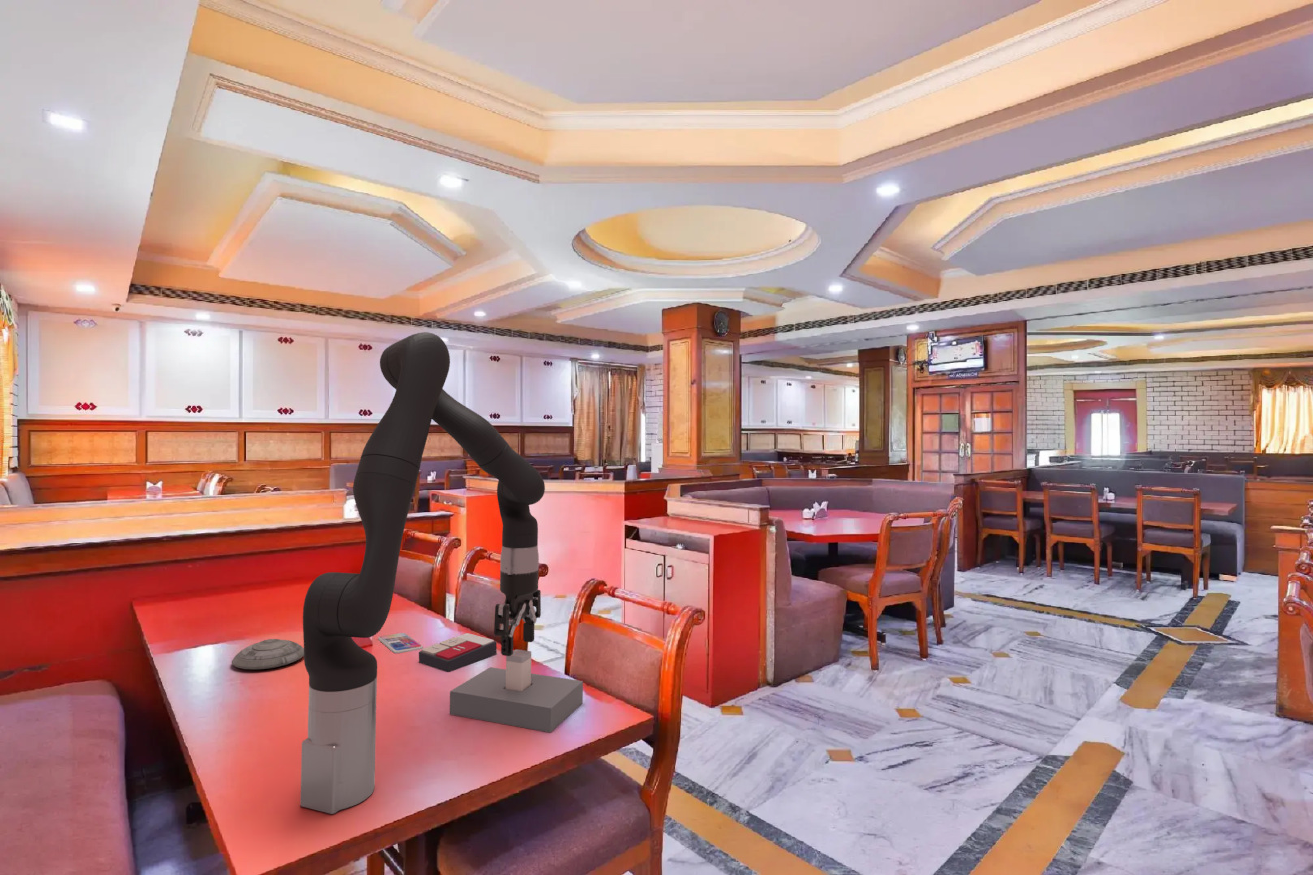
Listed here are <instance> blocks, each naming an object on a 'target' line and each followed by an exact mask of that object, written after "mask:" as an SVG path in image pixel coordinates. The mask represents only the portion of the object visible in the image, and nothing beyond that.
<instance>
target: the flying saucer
mask: <svg viewBox="0 0 1313 875" xmlns="http://www.w3.org/2000/svg"><path fill="white" fill-rule="evenodd" d="M301 658H304V646H302V645H301V644H300V643H298V642H295V641H292V640H288V639H279V638H268V639H264V640H260V641H259V642H257V643H256V642H255V643H252V644H250V645H249V646H246V647H244V649H241V650H240V651H239V652H238V653H236V654H235V656H234V657H233V658H232V660H231V665H232V666H234V667H236V668H238V669H242V670H265V669H267V670H268V669H274V668H278V667H283V666H286V665H289V664H291V663H294V662H297V661H299V660H300V659H301Z"/></svg>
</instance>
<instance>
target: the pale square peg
mask: <svg viewBox="0 0 1313 875" xmlns="http://www.w3.org/2000/svg"><path fill="white" fill-rule="evenodd" d="M505 669H506V689H509V690H515V691H521V692H523V691H524V690H525V689H527V688H528V687H530V686H531V673H532V651H530V650H524V649H513V654H512V655H511V656H505Z"/></svg>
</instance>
